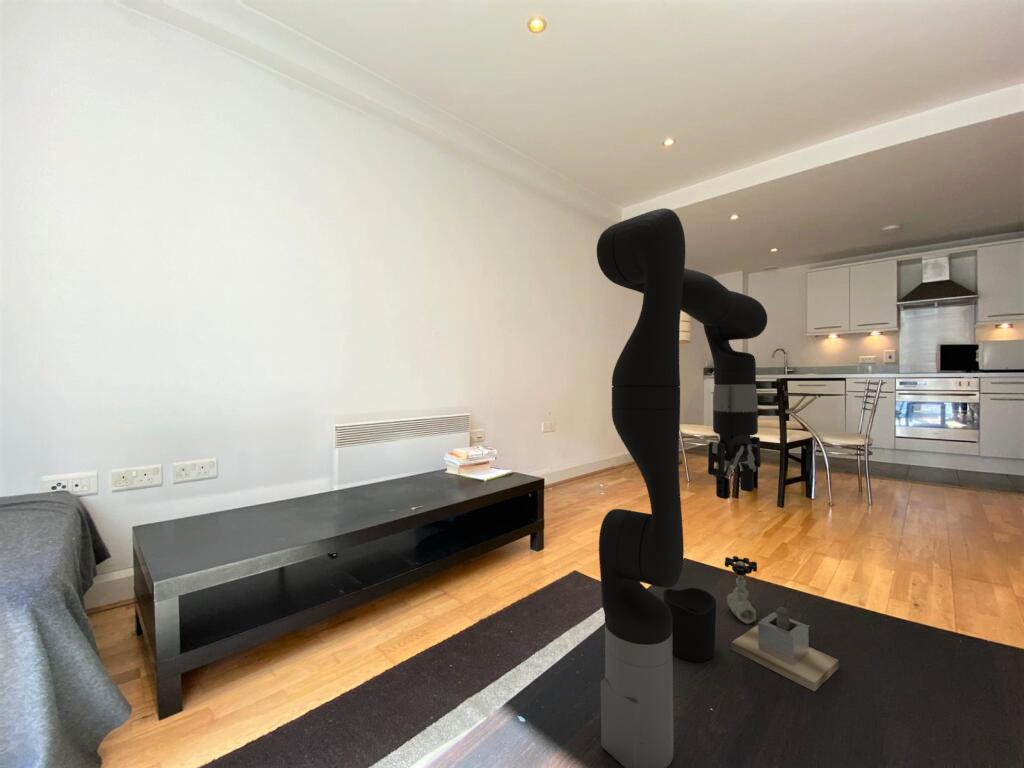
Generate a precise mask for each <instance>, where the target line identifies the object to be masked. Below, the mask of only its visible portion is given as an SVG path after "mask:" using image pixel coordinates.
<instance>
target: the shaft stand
mask: <svg viewBox="0 0 1024 768" xmlns="http://www.w3.org/2000/svg"><path fill="white" fill-rule="evenodd" d="M776 613H777V627H779V628H782V629H784V630H786V631H789V618H790V612H789V610H788V609H787V608H786V607H784V606H779V607H778V608H776ZM731 651H733V652H736V653H737V654H739V655H741V656H743V657H745V658H747V659H749V660H751V661H753V662H755V663H757V664H759V665H762V666H763V667H765V668H767V669H769V670H771V671H773V672H775V673H777V674H779V675H781V676H783V677H784V678H787V679H789V680H791V681H793V682H795V684H798V685H801V686H802V687H805V688H806V689H809V690H810V691H813V692H816V691H817V690H818V689H819V688H820V687H821V686H822V685H823V684H824V683H826V681H827V680H828V679H829V678H830V677H831V676H833V674H834V673H835V672H836V671H837V670H839V668H840V667H839V665H840V664H839V663H840V661H839V658H835V657H833V656H831V655H828V654H826V653H823V652H822V651H819V650H817V649H815V648H812V647H811V646H810V647H809V653H808V654H807V655H806V656H804V657H803V658H802V659H801V660H800V661H798V662H797V663H796V664H795V665H792V664H789V663H787V662H785V661H783V660H781V659H779V658H777V657H775V656H773V655H771V654H769V653H766V652H764V651H762V650H760V649H758V624H757V625H755V626H753V627H752V628H750V629H749V630H748V631H746V632H745V633H743V634H742V635H740V636H739V637H737V638H736V639H734V640H733V641H731Z"/></svg>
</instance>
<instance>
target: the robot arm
mask: <svg viewBox="0 0 1024 768" xmlns="http://www.w3.org/2000/svg"><path fill="white" fill-rule="evenodd" d="M596 260H597V264H598V265H599V268H600V270H601V272H602V273H603V275H604V276H605V277H606V278H607V279H608V280H609V281H610V282H611V283H613V284H615V285H616V286H620V287H623V288H625V289H628V290H631V291H634V292H638V293H641V294H643V297H642V305H641V310H640V313H639V317H638V320H637V322H636V324H635V327H634V328H633V330H632V332H631V334H630V336H629V338H628V340H627V341H626V343H625V345H624V347H623V349H622V350H621V352H620V354H619V357H618V358H617V360H616V363H615V366H614V367H613V372H612V377H611V386H612V387H611V419H612V422H613V425H614V429H615V430H616V432H617V434H618V436H619V439H620V440H621V442H622V443H623V445H624V446H625V449H627V451H628V453H629V454H630V456H631V458H632V460H633V461H634V462H635V464H636V466H637V468H638V470H639V472H640V473H641V476H642V478H643V481H644V482H645V486H646V490H647V493H648V497H649V498H648V499H649V502H650V511H651V513H646V512H641V511H635V510H628V509H623V508H614V509H611V510H610V511H608V512H607V513H606V515H605V516H604V517H603V520H602V522H601V524H600V525H601V526H600V530H599V537H598V556H599V557H598V559H599V573H600V585H601V586H600V587H601V588H600V589H601V605H602V608H603V612H604V613H603V614H604V643H605V644H604V651H605V653H604V656H605V657H604V660H605V661H604V662H605V663H604V664H605V667H604V668H605V672H604V673H605V677H604V678H603V679H601V681H600V725H601V726H600V730H601V731H600V737H601V738H600V739H601V740H600V741H601V747H602V748H603V749H604V750H605V751H606V752H607V753H608V754H609V755H610V756H612V757H613V758H614V759H615V760H616V761H617V762H618V763H619V764H621V765H622V766H623V768H668V767H669V766H670V764H671V763H672V761H673V758H674V679H673V678H674V672H673V671H674V669H673V663H674V662H673V661H674V660H673V653H672V652H673V644H672V614H671V611H670V609H669V607H668V606H667V604H666V603H665V602H664V599H663V600H662V598H660V597H658V596H657V595H656V594H655V593H653V592H652V591H650V590H649V589H648V588H646V587H645V585H643V584H646V585H650V586H655V587H660V588H666V589H672V588H673V587H675V585H677V583H678V582H679V580H680V578H681V575H682V571H683V565H684V553H685V552H684V551H685V550H684V548H685V547H684V545H685V544H684V530H683V514H682V513H683V512H682V502H681V485H680V464H679V463H680V460H679V459H680V426H681V425H680V424H681V423H680V421H681V377H680V331H681V330H680V327H681V326H680V325H681V324H680V323H681V311H682V312H684V313H685V314H686V315H688V316H690V317H691V318H693V320H696V321H697V322H699V323H700V324H702V325H703V330H704V334H705V337H706V341H707V342H708V346H709V349H710V354H711V358H712V361H713V362H712V363H713V384H714V385H713V392H712V430H713V433H715V434H717V435H719V439H718V440H719V441H717V442H716V441H709V442H708V457H707V459H708V460H707V473H708V475H711V476H713V477H715V486H716V487H715V489H716V490H715V491H716V493H715V494H716V498H718V499H723V500H728V499H730V498H731V479H730V477H731V474H732V471H733V470H735V469H736V468H737V466H739V468H740V472H739V475H740V480H739V481H740V490H742V491H744V492H749V493H751V492H753V491H754V489H755V479H754V478H755V477H754V475H755V474H754V473H755V472H756V471H757V468H760V467H761V464H762V463H761V461H762V460H761V440H760V439H761V438H760V437H759V436H755V435H757V434H758V432H759V422H758V421H759V417H758V415H759V413H758V409H759V408H758V406H759V405H758V391H757V385H756V384H757V383H756V382H757V375H756V374H757V372H756V369H757V366H756V365H757V364H756V363H757V362H756V358H755V355H753V354H751V353H750V352H745V351H744V352H743V351H737V350H734V349H733V348H732V346H731V344H730V341H736V340H748V339H749V340H750V339H754V338H757V337H758V336H760V335H761V334H762V333H763V332H764V330H765V329H766V328H767V325H768V314H767V311H766V309H765V308H764V306H763V304H762V303H761V302H760V301H758V300H757V299H755V298H754V297H751V296H749V295H747V294H743V293H740V292H737V291H733V290H729V289H728V288H727V287H726V286H725V285H723V284H722V283H721V282H720V281H718V280H717V279H716V278H714V277H712V276H710V275H709V274H707V273H704V272H700V271H698V270H694V269H689V268H685V264H686V238H685V232H684V227H683V223H682V221H681V219H680V218H679V215H678V214H677V213H676V212H675V211H674V210H673V209H670V208H666V207H665V208H664V207H663V208H658V209H654V210H651V211H647V212H644V213H642V214H639V215H636V216H633V217H630V218H628V219H624V220H622V221H620V222H616V223H615V224H613V225H611V226H609V227H608V228H605V230H604V231H603V232H602V233H601V234H600V236H599V237H598V241H597V243H596ZM715 464H716V465H715Z"/></svg>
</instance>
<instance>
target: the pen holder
mask: <svg viewBox="0 0 1024 768" xmlns="http://www.w3.org/2000/svg"><path fill="white" fill-rule="evenodd" d="M662 596H663V601H664V602H665V603H666V604H667V606H668V607H669V609H670V611H671V614H672V644H673V652H672V654H674V655H675V656H676V657H677V658H679V659H683V660H685V661H690V662H698V663H699V662H701V663H702V662H706V661H708V660H710V659H711V658H713V656H714V654H715V644H716V618H717V615H716V613H717V600H716V598H715V597H714V596H713V595H712V594H711V593H709V592H708V591H706V590H704V589H701V588H698V587H687V588H683V589H672V588H666V589H664V591H663V595H662Z"/></svg>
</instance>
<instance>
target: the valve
mask: <svg viewBox="0 0 1024 768" xmlns="http://www.w3.org/2000/svg"><path fill="white" fill-rule="evenodd" d="M730 566H731V570H732V571H733V573H735V574H736V575H737V576H736V577H735V584H736V585H737V586H735V587H734V588H732V589H733V590H732V591H733V592H731V593H729V594H728V595H727V597H726V601H727V605H728V606H729V608H730V610H731V612H732V613H733V614H734V616H736V617H737V618H738V620H740V621H741V622H743V623H745V624H746V625H749V624H751V623H753V622H756V620H757V613H756V612H757V611H756V610H755V608H754V607H753V606H752V604H751V602H750V601H749V600H748V598H749V597H750V594H749V593H750V591H748V590H747V588H746V586H747V580H746V578H745V577H744V576H746V575H748V574H752V572H755V573H756V572H758V563H757V561H750V558H748V557H744V558H739V556H736V555H734V556H732V558H731V557H728V556H726V557H725V558H724V567H726V568H729V567H730Z"/></svg>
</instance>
